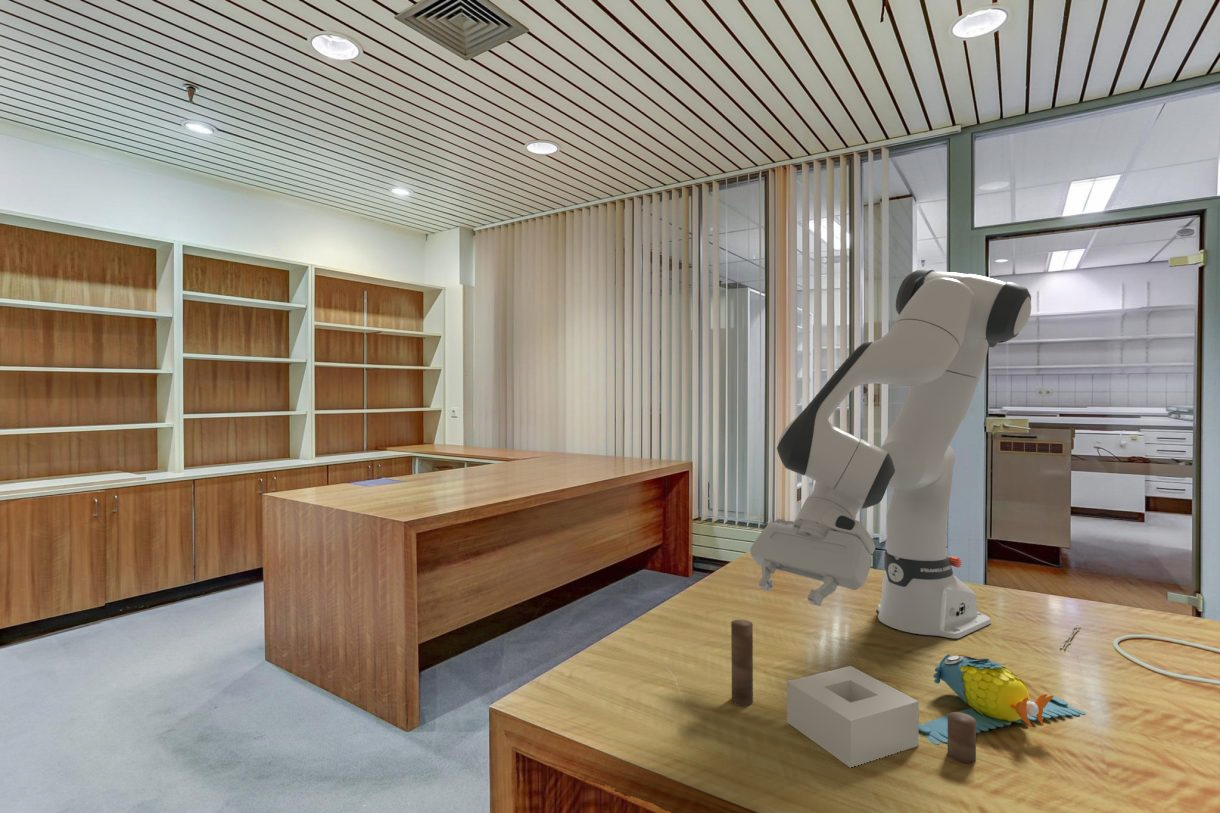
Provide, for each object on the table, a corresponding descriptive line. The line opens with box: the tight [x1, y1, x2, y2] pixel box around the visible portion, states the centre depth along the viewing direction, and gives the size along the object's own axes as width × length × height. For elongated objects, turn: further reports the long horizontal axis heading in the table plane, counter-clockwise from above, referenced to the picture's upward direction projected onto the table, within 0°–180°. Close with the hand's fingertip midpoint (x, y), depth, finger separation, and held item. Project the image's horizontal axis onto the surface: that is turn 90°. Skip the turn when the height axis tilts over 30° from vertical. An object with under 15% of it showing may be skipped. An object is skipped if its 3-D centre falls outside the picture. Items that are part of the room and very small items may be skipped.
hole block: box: [786, 665, 920, 769], centre depth 86 cm, size 12×12×6 cm
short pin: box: [947, 711, 977, 765], centre depth 80 cm, size 3×3×5 cm
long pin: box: [730, 619, 754, 707], centre depth 95 cm, size 3×3×12 cm
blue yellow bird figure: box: [919, 653, 1087, 746], centre depth 91 cm, size 28×9×15 cm
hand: (787, 595), depth 100 cm, fingers open, 8 cm apart
